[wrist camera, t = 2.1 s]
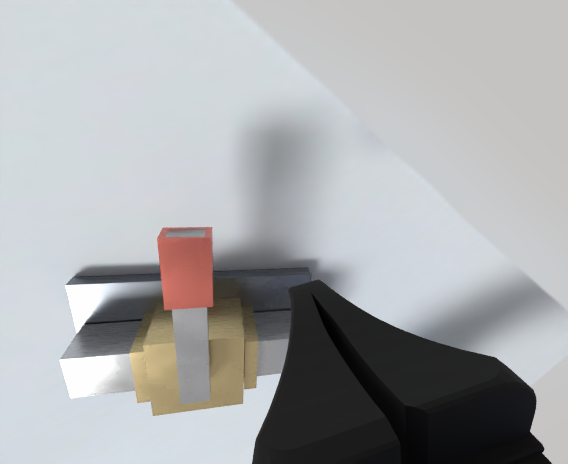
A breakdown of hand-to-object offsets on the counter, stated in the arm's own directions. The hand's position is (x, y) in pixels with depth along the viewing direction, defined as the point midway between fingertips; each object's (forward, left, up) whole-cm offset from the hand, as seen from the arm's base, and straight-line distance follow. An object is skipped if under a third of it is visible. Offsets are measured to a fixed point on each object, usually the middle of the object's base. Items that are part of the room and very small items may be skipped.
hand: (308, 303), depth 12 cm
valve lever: (+5, +3, -4) cm, 7 cm away
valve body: (+5, +8, -9) cm, 13 cm away
